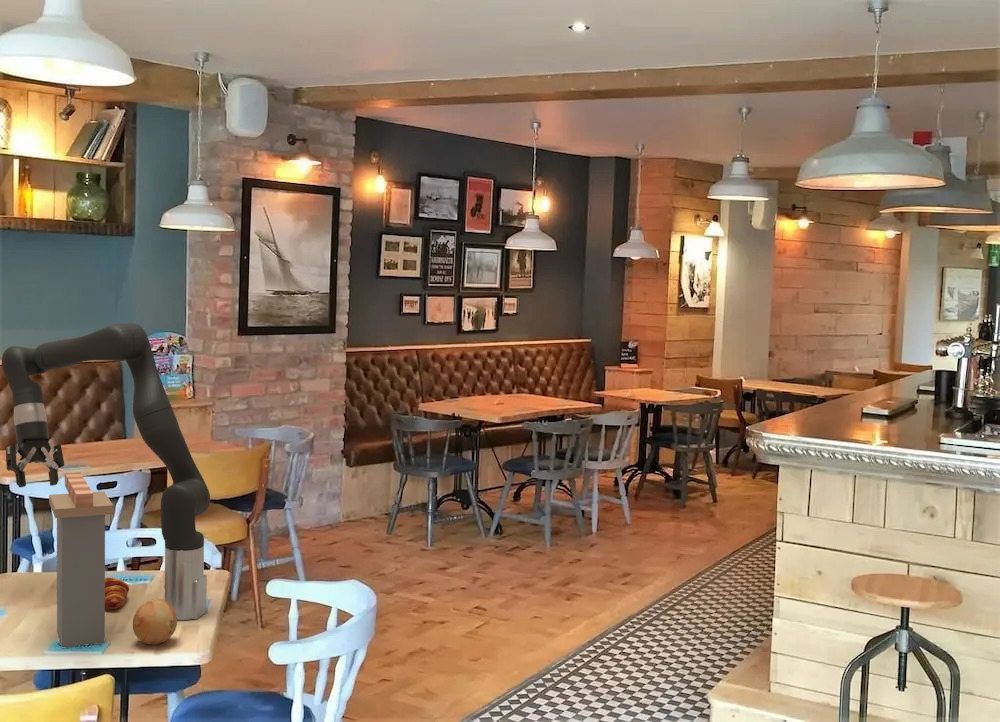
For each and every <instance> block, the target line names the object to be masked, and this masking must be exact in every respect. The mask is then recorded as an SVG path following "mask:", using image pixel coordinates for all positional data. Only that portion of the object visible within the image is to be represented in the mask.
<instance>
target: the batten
mask: <svg viewBox="0 0 1000 722" xmlns="http://www.w3.org/2000/svg"><path fill="white" fill-rule="evenodd" d="M64 487H65V489H66V491H67V492H68V493H67V494H69V495H70V497H71V499H72V501H73V503H74V505H75V506H76V508H81V507H93V492H94V491H92V489H91V487H90V485H89V484H88V482H87V481H86V479H85V478H84V476H83V474H82V473H81V472H79V471H78V472H65V473H64Z"/></svg>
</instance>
